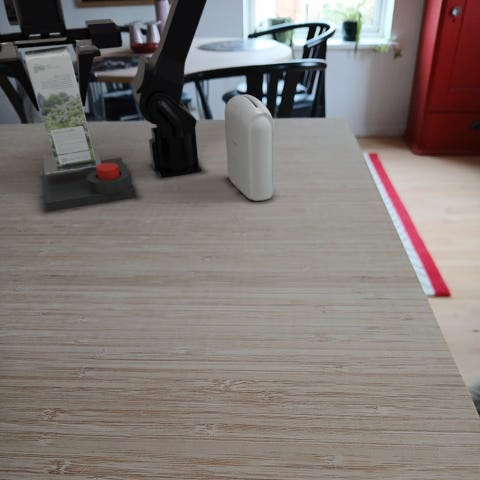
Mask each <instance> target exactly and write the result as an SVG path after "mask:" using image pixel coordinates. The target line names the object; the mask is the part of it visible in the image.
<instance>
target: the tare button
mask: <svg viewBox="0 0 480 480" xmlns="http://www.w3.org/2000/svg"><path fill="white" fill-rule="evenodd" d="M96 170H97V175H98V179H100V180H108V179H114V178H117V177H119V176H120V174H119V168H118V165H117V164H115V163H104V164H100V165H98V166H97V167H96Z"/></svg>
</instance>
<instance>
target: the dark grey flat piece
mask: <svg viewBox="0 0 480 480" xmlns="http://www.w3.org/2000/svg"><path fill="white" fill-rule="evenodd" d="M100 161H101V164H104V163H115V164H117V165H118V168H119V174H120V176H119V177H117V178H114V179H108V180H100V179H98V175H97V170H96V169H93V170H86V171H79V172H72V173H65V174H58V175H51V176H45V174H44V173H43V184H44V185H43V186H44V202H45V207H46V210H47V212H48V213H49V212H56V211H61V210H69V209H74V208H80V207H86V206H94V205H99V204H105V203H111V202H112V203H113V202H117V201H125V200H131V199H136V198H137V195H136V189H135V186H134V185H133V180H132V174H131V171H130V170H129V169H127V168H126V166H125V164H124V161H123V159H122V157H115V158H114V157H113V158H107V159H106V158H105V159H100ZM42 169H43V172H44V167H43V168H42Z"/></svg>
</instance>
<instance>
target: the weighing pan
mask: <svg viewBox="0 0 480 480" xmlns="http://www.w3.org/2000/svg"><path fill="white" fill-rule="evenodd" d="M93 151H94V155H95V161H90V162H85V163H79V164H73V165H67V166H61V167H57V166H56V163H55V160H54V157H53V154H48V155H43V156H42V157H43V158H42V159H43V168H44V171H43V175H44V174H45V176H51V175H58V174H65V173H72V172H79V171H86V170H93V169H96V167H97V166H98V165H100V164H101V161H100V160H101V157H100V155H99V152H98V149H97V148H93Z"/></svg>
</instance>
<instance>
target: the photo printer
mask: <svg viewBox="0 0 480 480" xmlns="http://www.w3.org/2000/svg"><path fill="white" fill-rule="evenodd" d="M224 126H225V143H226V144H225V145H226V161H227V162H226V163H227V174H228V179H229V181H230V182H231V183H232V184H233V185H234V186H235V187H236V188H237V190H238V191H240V192H241V193H242V194H243V195H244V196H245V198H248V199H249V200H252V201H254V202H255V201H257V202H259V201H265V200H269V199H271V198H272V196H274V195H275V122H274V118H273V116H272V114H271V112H270V110H269V109H268V107H266V105H265V104H264V103H263V102H262V101H261V100H259V99H258V97H257V98H256V97H255V96H253V95H250V94H240V95H234V96H232V97H231V98H230V99H229V100H228V101H227V103H226V105H225V108H224Z"/></svg>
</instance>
